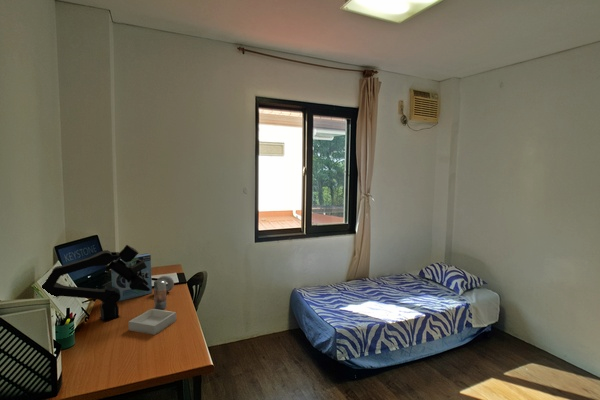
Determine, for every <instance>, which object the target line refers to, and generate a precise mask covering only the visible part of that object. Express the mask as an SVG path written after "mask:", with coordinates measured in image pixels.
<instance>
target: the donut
mask: <svg viewBox="0 0 600 400" xmlns="http://www.w3.org/2000/svg"><path fill="white" fill-rule="evenodd" d="M157 280H166V293H168V292H170V291H171V290H172V289H173V288H174V285H175V281H174V279H173V277H171V276H169V275H162V276H160V277H159V278H157ZM157 280H156V281H157Z"/></svg>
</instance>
